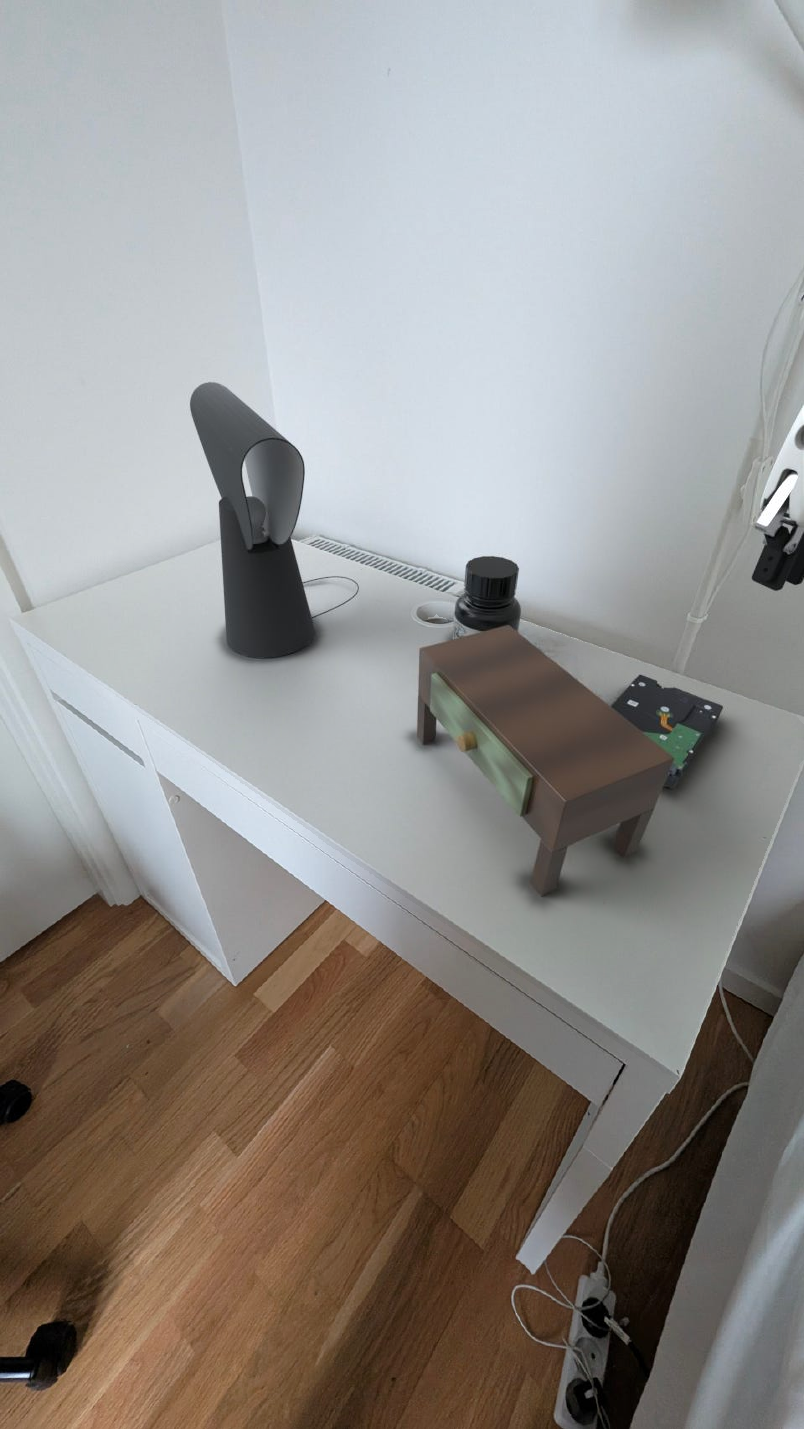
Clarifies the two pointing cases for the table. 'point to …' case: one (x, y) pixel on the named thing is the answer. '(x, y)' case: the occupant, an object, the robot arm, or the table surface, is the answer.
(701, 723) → the disk drive
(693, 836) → the table surface
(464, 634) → the ink bottle
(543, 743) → the drawer unit
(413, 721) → the table surface
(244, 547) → the table lamp
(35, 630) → the table surface
